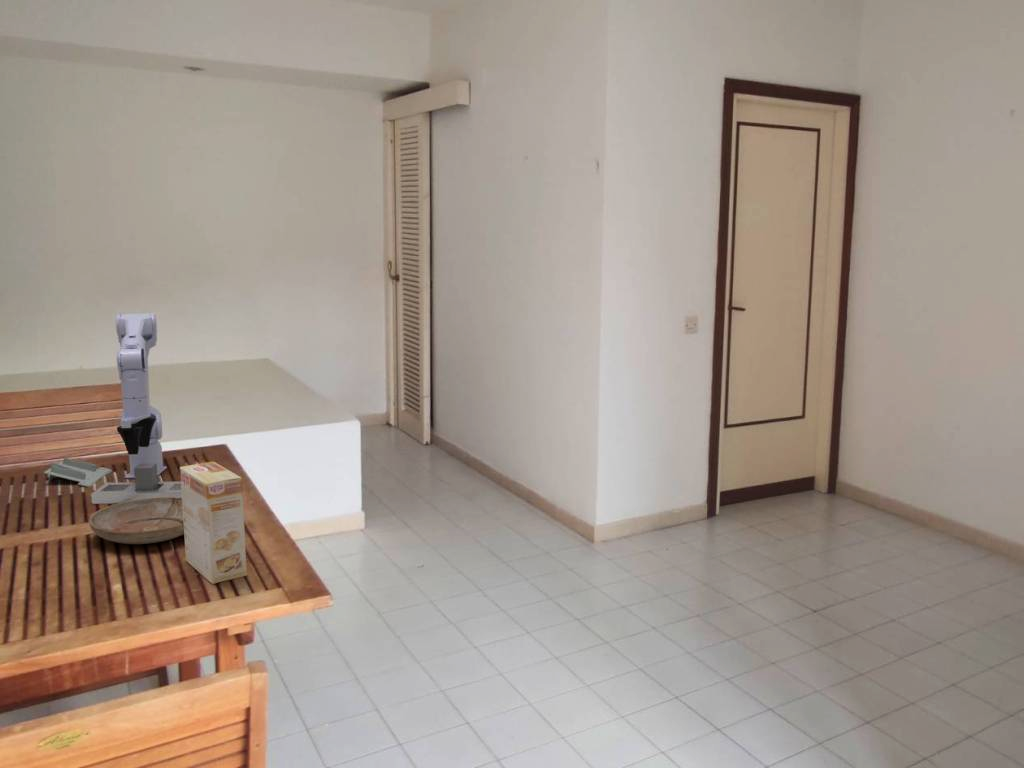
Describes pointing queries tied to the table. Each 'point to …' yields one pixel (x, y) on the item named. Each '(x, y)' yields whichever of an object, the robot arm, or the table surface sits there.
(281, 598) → the table surface
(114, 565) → the table surface
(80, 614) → the table surface
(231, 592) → the table surface
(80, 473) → the metal bracket
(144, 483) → the square peg
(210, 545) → the coffeecake box
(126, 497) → the hole rail
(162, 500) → the ceramic bowl
